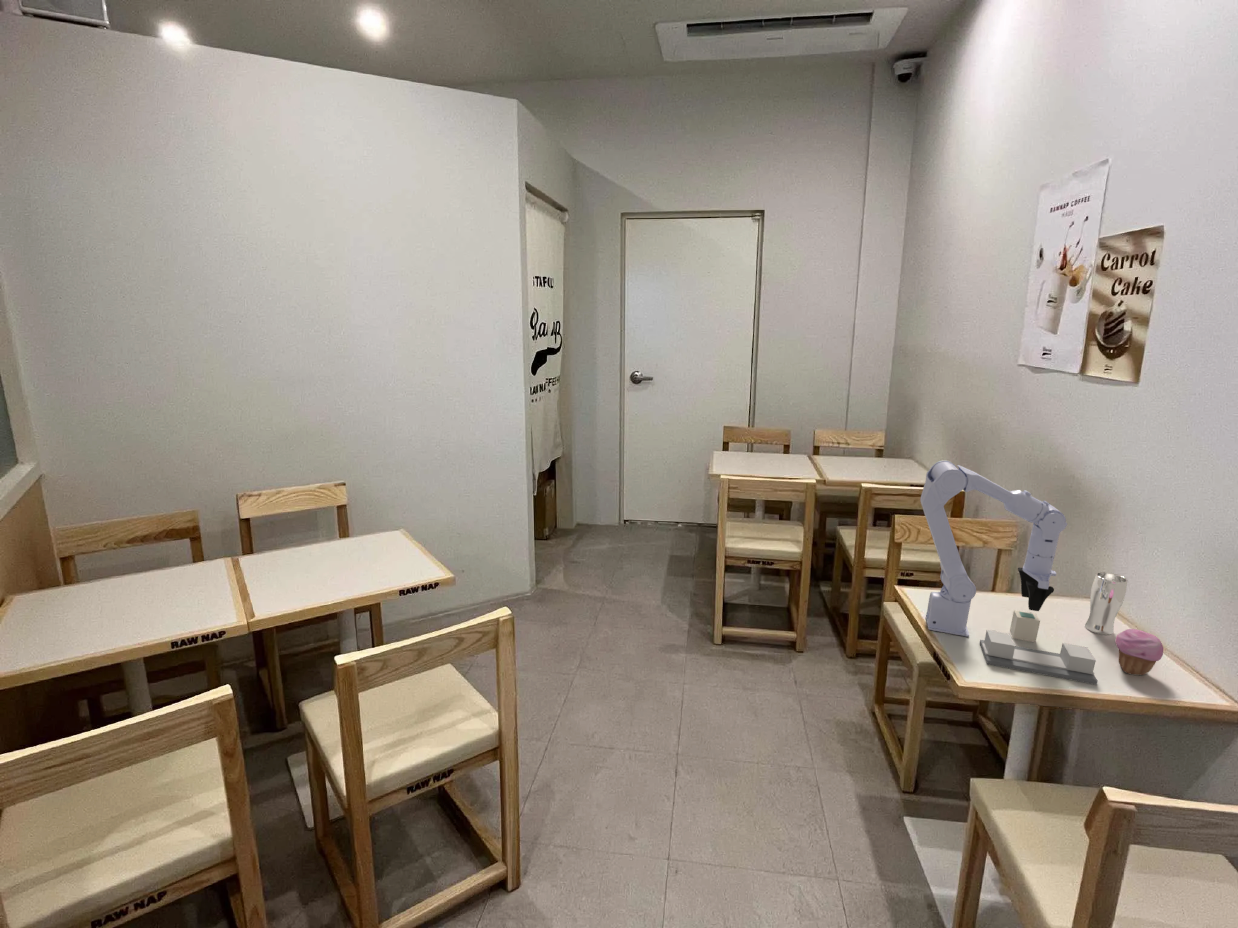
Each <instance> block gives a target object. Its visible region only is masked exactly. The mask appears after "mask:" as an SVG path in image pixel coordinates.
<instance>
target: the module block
mask: <svg viewBox="0 0 1238 928" xmlns="http://www.w3.org/2000/svg"><path fill="white" fill-rule="evenodd" d="M1040 624H1041V619H1040V618H1039V616H1038V614H1037V613H1034V612H1033V613H1032V612H1028V611H1023V610H1022V611H1021V610H1016V609H1013V613H1012V618H1011V623H1010V628H1009V632H1010V633H1009V634H1010V635H1011V637H1012V640H1013V639H1014V640H1019V641H1024V642H1025V641H1026V642H1030V643H1031V642H1032V643H1036V642H1037V637H1038V633H1039V629H1040Z"/></svg>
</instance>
